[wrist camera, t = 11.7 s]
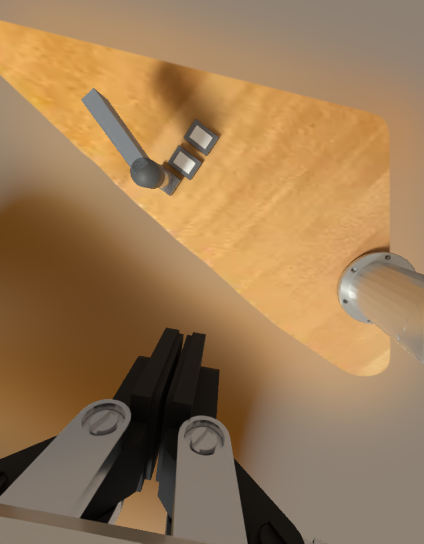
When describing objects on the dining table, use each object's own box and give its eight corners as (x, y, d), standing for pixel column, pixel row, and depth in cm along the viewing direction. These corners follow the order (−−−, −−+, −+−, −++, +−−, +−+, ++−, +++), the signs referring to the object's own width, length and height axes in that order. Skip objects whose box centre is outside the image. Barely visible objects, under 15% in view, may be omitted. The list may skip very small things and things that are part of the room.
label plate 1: (218, 138, 41) (218, 137, 40) (206, 156, 41) (206, 155, 41) (195, 119, 40) (195, 118, 40) (184, 138, 41) (183, 137, 40)
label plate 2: (201, 163, 42) (201, 162, 41) (190, 180, 42) (189, 180, 42) (179, 145, 41) (178, 144, 41) (168, 163, 42) (167, 162, 42)
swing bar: (111, 96, 33) (98, 83, 30) (170, 178, 35) (163, 175, 32) (92, 114, 34) (76, 103, 30) (150, 193, 36) (142, 192, 32)
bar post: (181, 180, 43) (171, 175, 36) (171, 195, 43) (159, 194, 36) (161, 165, 42) (147, 157, 35) (151, 180, 43) (135, 176, 36)
